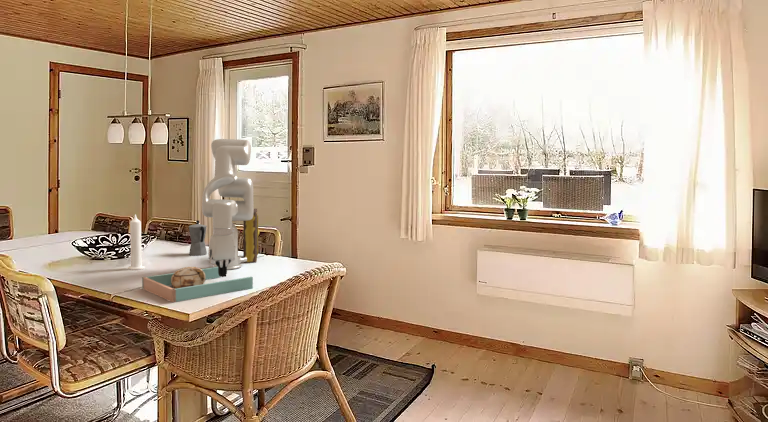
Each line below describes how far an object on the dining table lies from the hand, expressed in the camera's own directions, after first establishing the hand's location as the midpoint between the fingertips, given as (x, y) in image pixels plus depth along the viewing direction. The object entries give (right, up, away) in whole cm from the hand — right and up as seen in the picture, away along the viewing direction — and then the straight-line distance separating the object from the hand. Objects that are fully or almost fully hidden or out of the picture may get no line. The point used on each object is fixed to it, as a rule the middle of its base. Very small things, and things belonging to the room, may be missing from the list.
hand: (222, 276), depth 224 cm
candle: (-47, 0, +26) cm, 54 cm away
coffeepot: (-31, +4, +64) cm, 71 cm away
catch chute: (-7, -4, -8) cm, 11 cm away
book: (-2, +2, +56) cm, 56 cm away
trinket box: (-12, -4, -5) cm, 14 cm away
